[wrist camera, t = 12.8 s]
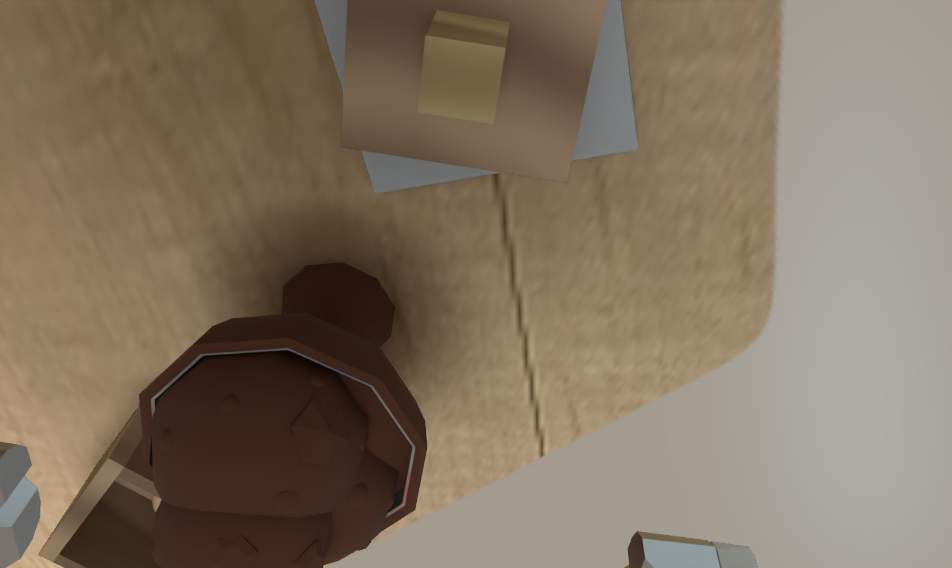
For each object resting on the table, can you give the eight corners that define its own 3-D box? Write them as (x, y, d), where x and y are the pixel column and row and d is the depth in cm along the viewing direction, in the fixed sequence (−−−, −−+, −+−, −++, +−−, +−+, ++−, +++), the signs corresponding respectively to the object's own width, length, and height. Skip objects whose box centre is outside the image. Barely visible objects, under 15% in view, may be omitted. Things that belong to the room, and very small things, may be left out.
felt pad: (377, 187, 34) (374, 193, 34) (292, -88, 28) (287, -85, 28) (636, 143, 32) (638, 149, 32) (600, -161, 27) (601, -160, 26)
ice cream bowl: (469, 390, 40) (433, 676, 27) (257, 403, 41) (131, 678, 29) (433, 201, 34) (367, 450, 22) (190, 223, 36) (-2, 468, 23)
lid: (566, 170, 32) (568, 221, 29) (347, 135, 32) (321, 182, 29) (617, -67, 27) (628, -41, 24) (359, -109, 27) (330, -89, 24)
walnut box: (234, 540, 48) (197, 630, 43) (94, 467, 45) (37, 554, 40) (311, 458, 43) (280, 549, 38) (162, 373, 41) (108, 458, 36)
